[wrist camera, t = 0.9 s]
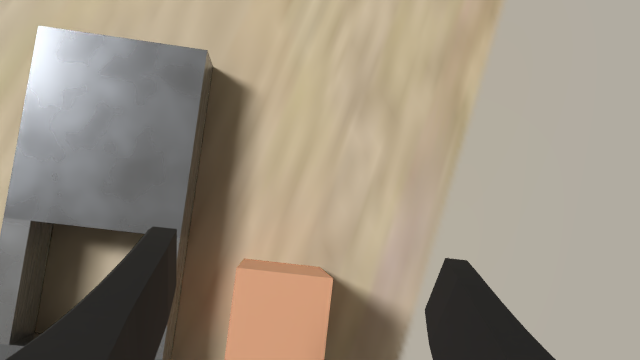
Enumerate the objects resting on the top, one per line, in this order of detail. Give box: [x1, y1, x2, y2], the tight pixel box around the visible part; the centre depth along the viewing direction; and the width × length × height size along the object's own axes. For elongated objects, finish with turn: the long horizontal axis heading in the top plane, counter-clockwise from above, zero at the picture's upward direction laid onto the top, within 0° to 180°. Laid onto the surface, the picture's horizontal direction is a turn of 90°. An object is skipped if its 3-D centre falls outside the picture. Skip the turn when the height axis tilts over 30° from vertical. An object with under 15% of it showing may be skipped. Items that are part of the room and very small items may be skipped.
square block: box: [225, 259, 333, 360], centre depth 24 cm, size 4×4×6 cm
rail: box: [0, 26, 213, 360], centre depth 25 cm, size 24×8×2 cm, turn 173°
